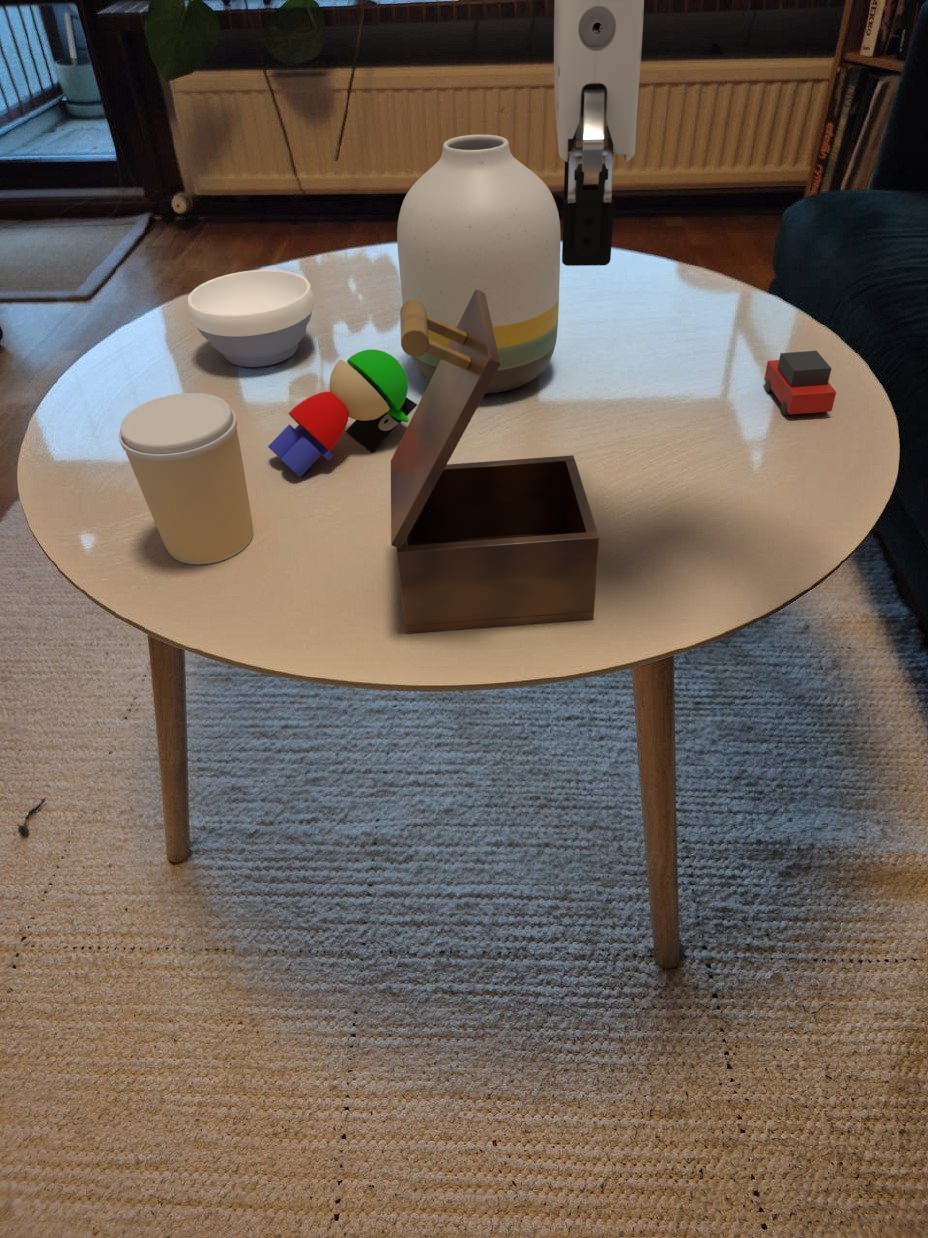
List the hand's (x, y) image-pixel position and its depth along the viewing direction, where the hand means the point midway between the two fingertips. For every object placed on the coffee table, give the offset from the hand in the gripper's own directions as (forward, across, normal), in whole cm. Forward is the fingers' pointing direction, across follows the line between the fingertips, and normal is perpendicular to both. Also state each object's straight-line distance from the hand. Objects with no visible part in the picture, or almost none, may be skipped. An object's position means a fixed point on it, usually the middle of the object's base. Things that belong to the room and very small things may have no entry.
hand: (585, 239), depth 63 cm
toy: (+25, +12, +23) cm, 36 cm away
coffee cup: (+25, -4, +32) cm, 41 cm away
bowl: (+25, +35, +38) cm, 57 cm away
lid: (+9, -9, +10) cm, 16 cm away
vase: (+25, +29, +10) cm, 40 cm away
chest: (+24, -9, +6) cm, 27 cm away
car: (+24, +23, -23) cm, 41 cm away
